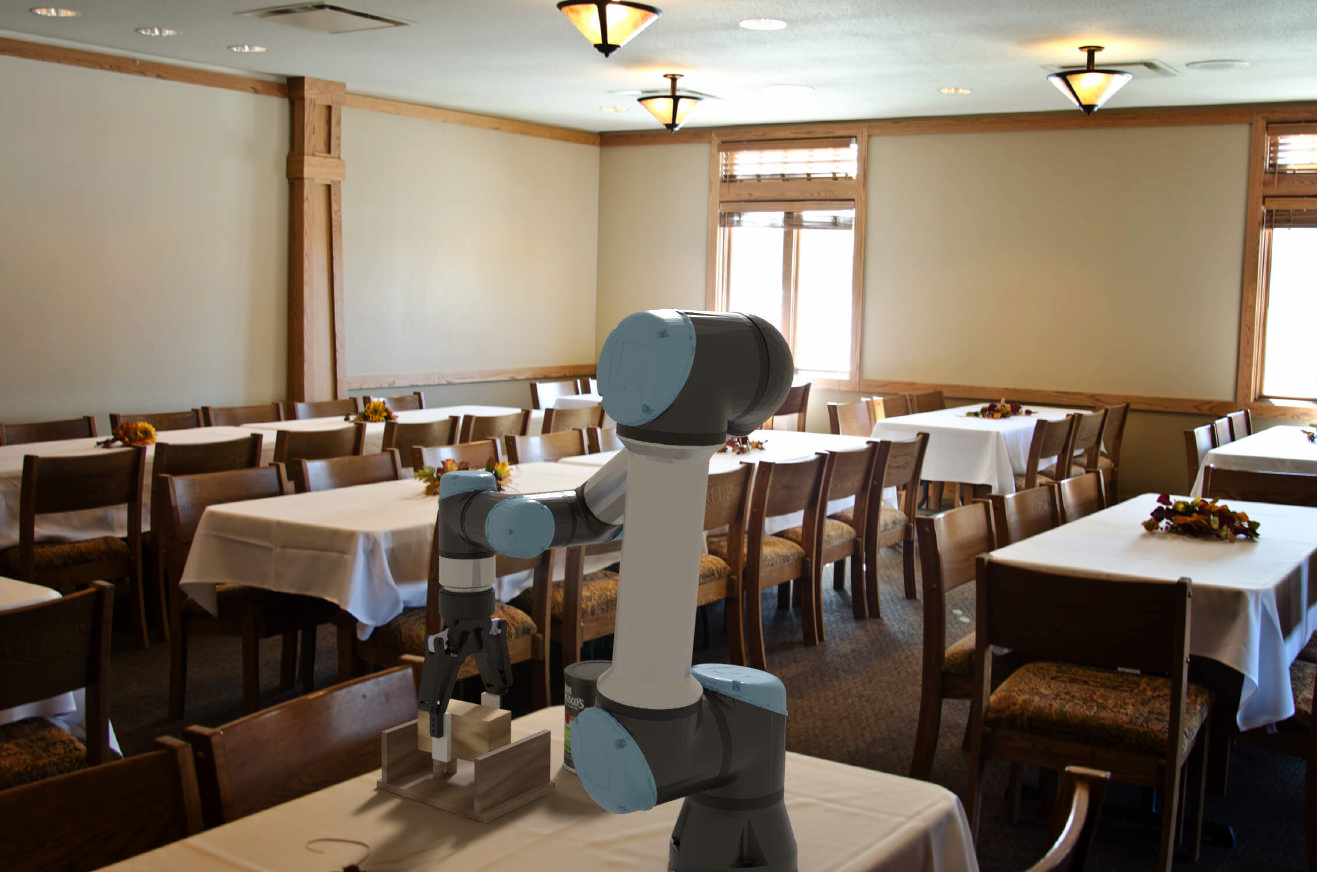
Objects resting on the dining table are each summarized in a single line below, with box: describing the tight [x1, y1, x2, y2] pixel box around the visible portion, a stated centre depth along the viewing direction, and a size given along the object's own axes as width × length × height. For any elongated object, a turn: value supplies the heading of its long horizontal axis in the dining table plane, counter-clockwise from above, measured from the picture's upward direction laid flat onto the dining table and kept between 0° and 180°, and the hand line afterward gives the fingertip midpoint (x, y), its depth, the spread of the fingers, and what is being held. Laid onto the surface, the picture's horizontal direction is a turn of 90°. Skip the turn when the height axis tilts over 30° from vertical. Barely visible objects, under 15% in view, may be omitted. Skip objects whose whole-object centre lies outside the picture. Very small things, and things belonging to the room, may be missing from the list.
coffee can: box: [562, 659, 613, 776], centre depth 170 cm, size 10×10×14 cm
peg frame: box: [376, 718, 557, 824], centre depth 160 cm, size 20×14×8 cm
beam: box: [417, 698, 512, 762], centre depth 160 cm, size 12×5×6 cm, turn 61°
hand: (466, 749), depth 160 cm, fingers open, 9 cm apart
